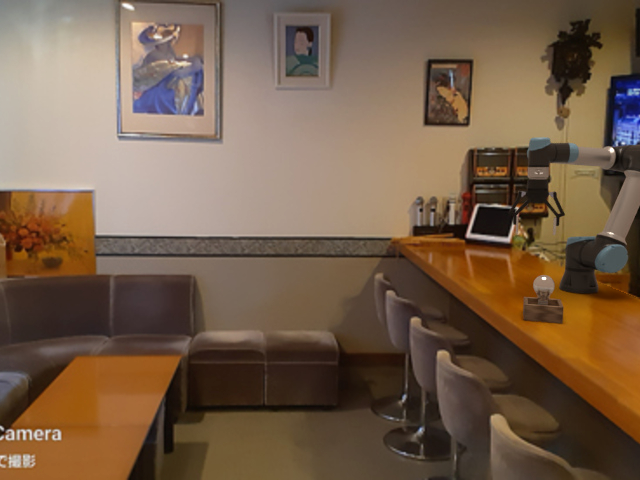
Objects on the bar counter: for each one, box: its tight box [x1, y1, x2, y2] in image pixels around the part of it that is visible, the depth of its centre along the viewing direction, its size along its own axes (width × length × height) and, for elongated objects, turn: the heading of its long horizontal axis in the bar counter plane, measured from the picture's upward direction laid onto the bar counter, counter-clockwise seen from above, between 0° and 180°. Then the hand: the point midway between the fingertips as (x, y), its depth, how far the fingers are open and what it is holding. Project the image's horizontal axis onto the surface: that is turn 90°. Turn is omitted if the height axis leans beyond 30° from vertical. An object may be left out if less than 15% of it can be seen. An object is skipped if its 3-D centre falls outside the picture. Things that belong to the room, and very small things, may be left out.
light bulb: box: [532, 274, 555, 306], centre depth 206 cm, size 7×7×12 cm
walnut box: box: [522, 296, 564, 324], centre depth 207 cm, size 12×12×6 cm
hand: (535, 234), depth 228 cm, fingers open, 13 cm apart
